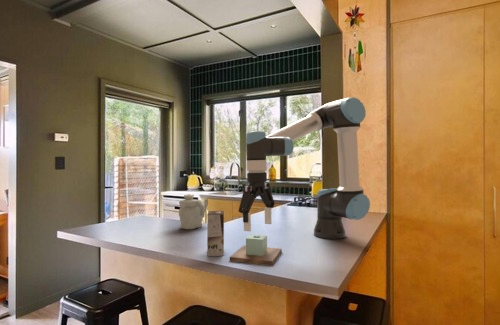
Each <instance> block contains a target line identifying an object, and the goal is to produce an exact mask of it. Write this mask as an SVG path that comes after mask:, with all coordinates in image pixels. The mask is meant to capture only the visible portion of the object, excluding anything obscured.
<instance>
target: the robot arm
mask: <svg viewBox="0 0 500 325" xmlns="http://www.w3.org/2000/svg"><path fill="white" fill-rule="evenodd" d="M366 112H367V111H366V108H365V105H364V103H363V102H362V101H361V100H360V99H359V98H357V97H354V96H352V97H351V96H350V97H344V98H342V99H337V100H334V101H331V102H328V103H325V104H324V105H322V106H321V105H320V106H319V107H317V108H316V109H315V110H312V111H310V112H309V113H308V114H307V115H306V117H303V118H301V119H299V120H296V121H295V122H293V123H290V124H289V125H287V126H284V127H282V128H280V129H279V130H276V131H275V132H272V133H271V134H268V135H266V132H265V131H263V130H251V131H248V132H247V133H246V135H245V146H246V147H245V151H246V154H245V155H246V172H247V173H246V182H247V183H249V185H243V191H242V195H241V200H240V202H239V203H240V204H239V207H238V212H239V213H241V214H242V222H243V231H244V232H248V233H249V232H252V223H251V222H252V221H251V219H252V218H251V214H252V213H250V210H251V209H252V206H253V204H254V202H255V199H256V198H257V197H260V199H261V201H262V203H263V204H264V205H265V207H264V208H263V209H264V224H265V225H272V223H273V222H272V209H273V208H274V207H275V200H274V197H273V196H274V195H273V193H272V191H271V186H270V185H271V184H270V182H267V181H268V179H267V178H268V175H267V172H266V171H267V166H268V165H267V157H280V156H282V157H285V156H291V154H293V151H294V142H295V141H296V140H299V139H301V138H303V137H305V136H307V135H309V134H310V133H312V132H314V131H315V132H318V131H321V130H323V129H327V128H332V130H333V131H334V132H335V133H336V138H337V139H336V140H337V160H338V162H337V163H338V181H339V182H338V183H339V186H338V187H337V188H323V189H318V191H317V196H316V204H317V205H316V208H317V217H316V218H317V219H316V223H315V225H314V228H313V236H314V237H317V238H321V239H329V240H330V239H331V240H337V239H338V240H339V239H344V238H346V233H347V232H346V230H345V229H346V228H345V226H344V223H343V218H344V219H349V220H351V221H352V220H355V221H360V220H362V219H364V218H365V217H366V216H367V214H368V213H369V211H370V208H371V201H370V198H369V196H367V195H366V194H364V187H362V186H361V185H360V169H359V150H358V149H359V148H358V146H359V144H358V131H359V130H360V128H361V123H362V122H363V121H364V120H365V118H366V114H367V113H366Z"/></svg>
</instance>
